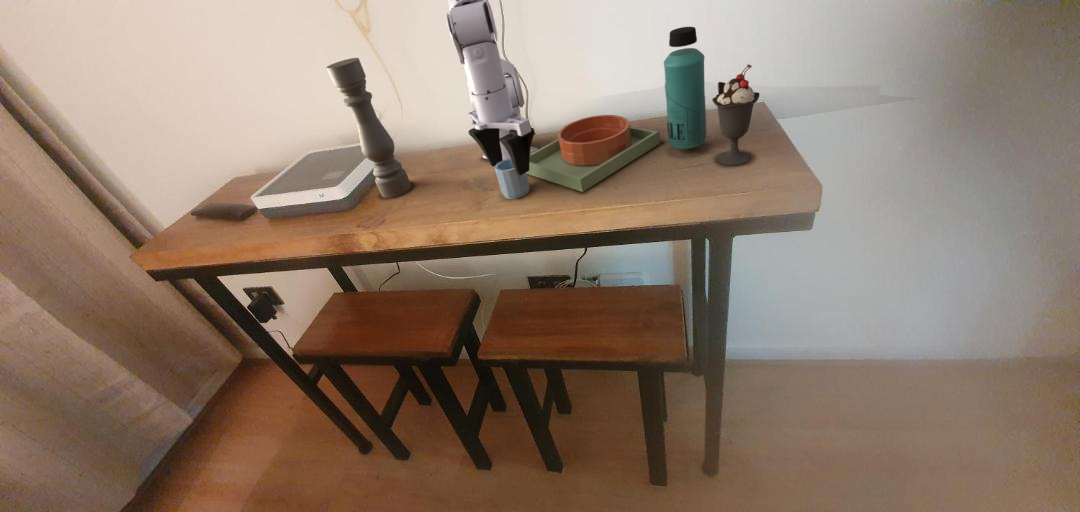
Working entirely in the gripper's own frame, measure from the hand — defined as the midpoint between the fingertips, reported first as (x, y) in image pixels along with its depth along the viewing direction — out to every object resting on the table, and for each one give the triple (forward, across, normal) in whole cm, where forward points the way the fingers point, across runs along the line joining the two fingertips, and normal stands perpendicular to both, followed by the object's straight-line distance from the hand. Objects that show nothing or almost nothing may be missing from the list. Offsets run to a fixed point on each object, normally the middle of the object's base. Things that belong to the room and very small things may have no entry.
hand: (510, 168), depth 82 cm
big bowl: (+5, +2, +18) cm, 19 cm away
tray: (+5, +2, +16) cm, 17 cm away
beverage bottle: (+5, +17, +26) cm, 31 cm away
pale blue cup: (+5, 0, 0) cm, 5 cm away
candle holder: (+5, -25, -12) cm, 28 cm away
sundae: (+5, +26, +26) cm, 37 cm away
